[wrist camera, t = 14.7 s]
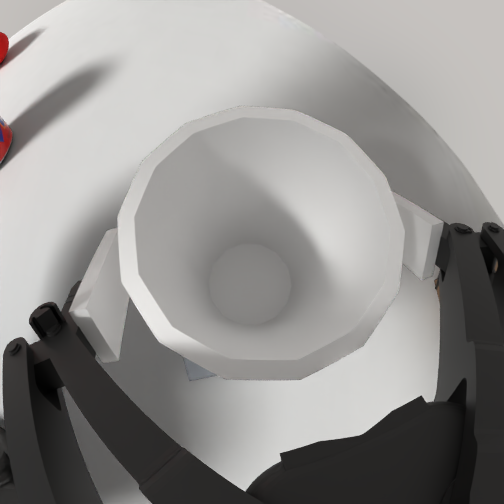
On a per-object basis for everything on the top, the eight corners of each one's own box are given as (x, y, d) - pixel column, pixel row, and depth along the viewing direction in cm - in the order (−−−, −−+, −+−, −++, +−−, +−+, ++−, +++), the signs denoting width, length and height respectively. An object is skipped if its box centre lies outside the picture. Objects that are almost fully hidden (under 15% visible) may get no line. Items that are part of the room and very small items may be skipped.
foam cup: (244, 201, 23) (252, 74, 10) (335, 276, 22) (439, 213, 9) (161, 291, 21) (67, 239, 8) (256, 374, 20) (283, 441, 7)
